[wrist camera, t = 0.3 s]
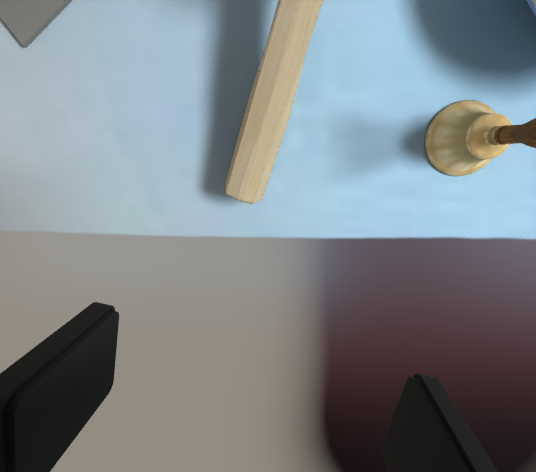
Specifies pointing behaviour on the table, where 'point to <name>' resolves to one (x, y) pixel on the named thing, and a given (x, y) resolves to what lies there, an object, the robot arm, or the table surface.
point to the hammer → (271, 99)
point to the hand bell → (472, 137)
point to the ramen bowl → (532, 5)
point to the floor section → (29, 16)
